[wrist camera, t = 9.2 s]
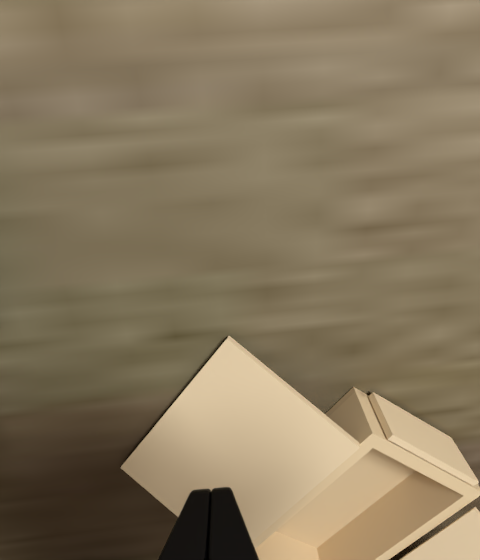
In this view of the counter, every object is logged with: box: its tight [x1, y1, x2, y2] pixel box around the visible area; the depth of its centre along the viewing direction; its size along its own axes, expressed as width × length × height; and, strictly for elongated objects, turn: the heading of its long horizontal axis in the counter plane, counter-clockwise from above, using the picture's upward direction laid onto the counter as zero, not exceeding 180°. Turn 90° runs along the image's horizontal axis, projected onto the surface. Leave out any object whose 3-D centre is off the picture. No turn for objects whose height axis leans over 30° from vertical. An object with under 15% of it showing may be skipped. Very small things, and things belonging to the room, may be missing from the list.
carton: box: [120, 336, 480, 560], centre depth 25 cm, size 18×15×4 cm
